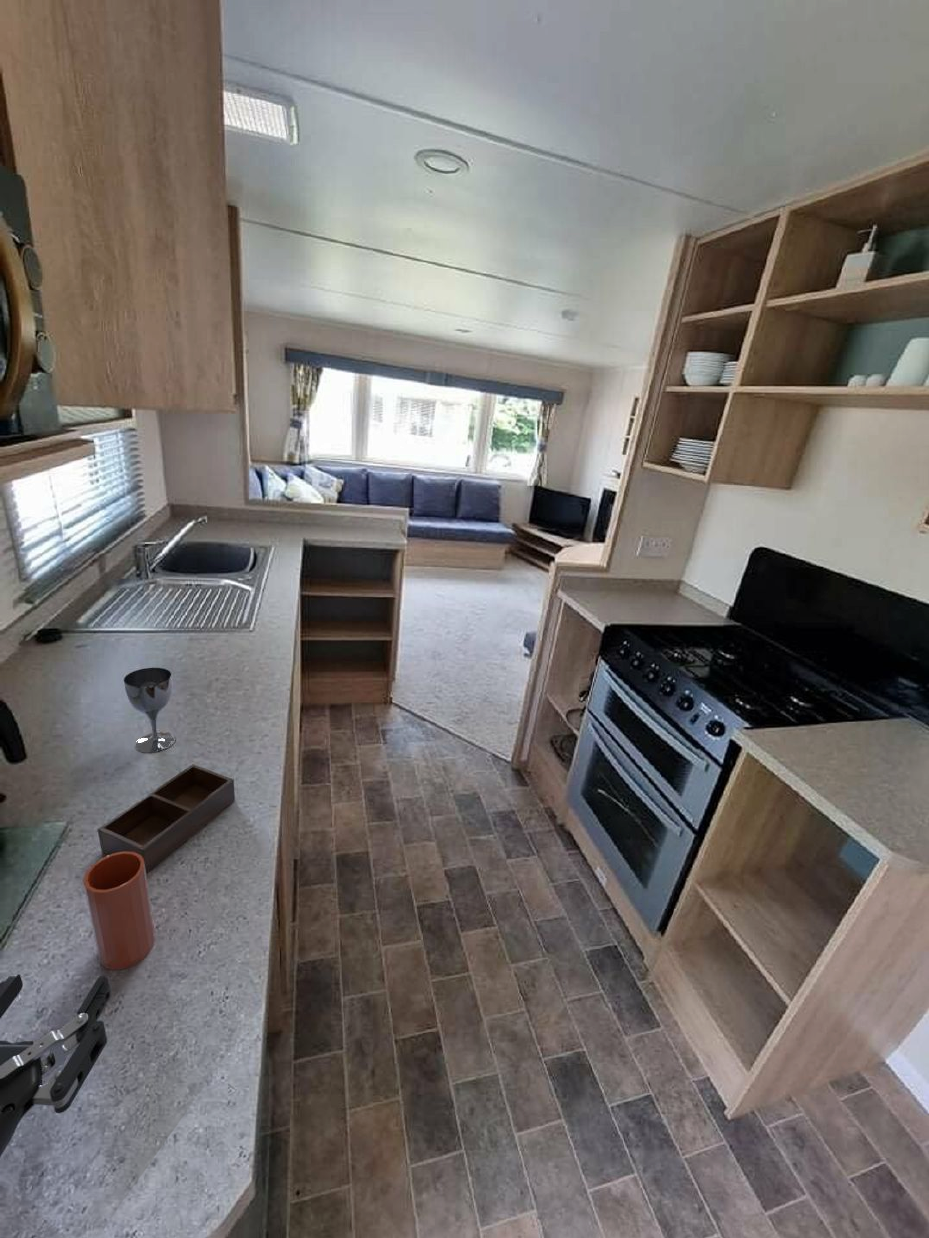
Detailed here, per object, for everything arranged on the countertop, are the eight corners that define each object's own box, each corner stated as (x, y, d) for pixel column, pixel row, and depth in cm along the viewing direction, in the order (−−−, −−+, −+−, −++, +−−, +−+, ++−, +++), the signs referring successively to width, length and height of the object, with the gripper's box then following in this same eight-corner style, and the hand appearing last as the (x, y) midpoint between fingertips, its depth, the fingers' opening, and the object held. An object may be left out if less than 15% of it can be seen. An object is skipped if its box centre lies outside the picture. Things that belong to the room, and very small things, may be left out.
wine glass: (168, 726, 110) (161, 663, 105) (184, 743, 105) (178, 678, 100) (126, 740, 104) (117, 674, 99) (141, 759, 100) (132, 691, 94)
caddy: (101, 852, 79) (97, 829, 77) (194, 784, 95) (192, 763, 93) (146, 873, 76) (143, 850, 75) (235, 800, 92) (233, 779, 91)
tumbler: (87, 958, 64) (71, 880, 60) (131, 918, 70) (119, 845, 65) (123, 978, 63) (109, 899, 58) (165, 936, 68) (155, 861, 63)
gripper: (5, 1172, 37) (129, 956, 53) (-211, 1175, 36) (-21, 953, 51) (25, 1225, 40) (137, 1005, 55) (-176, 1229, 39) (-5, 1003, 54)
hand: (61, 980), depth 53 cm, fingers open, 8 cm apart
